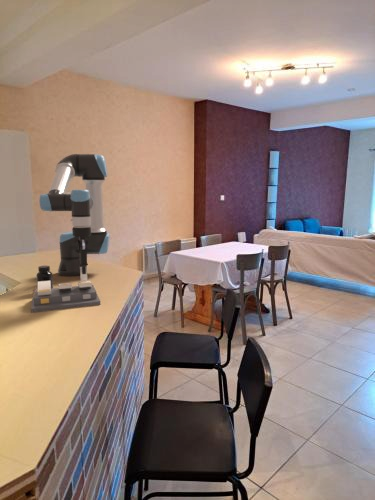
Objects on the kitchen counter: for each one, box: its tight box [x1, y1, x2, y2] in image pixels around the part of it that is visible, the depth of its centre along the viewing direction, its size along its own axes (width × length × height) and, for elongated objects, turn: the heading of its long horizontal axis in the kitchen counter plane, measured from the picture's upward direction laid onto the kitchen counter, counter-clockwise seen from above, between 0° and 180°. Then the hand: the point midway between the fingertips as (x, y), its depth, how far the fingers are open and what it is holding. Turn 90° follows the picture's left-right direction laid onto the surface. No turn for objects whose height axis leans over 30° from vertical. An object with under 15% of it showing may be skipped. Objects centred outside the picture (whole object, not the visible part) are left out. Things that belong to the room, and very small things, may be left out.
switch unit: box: [30, 284, 101, 313], centre depth 145 cm, size 16×26×6 cm, turn 112°
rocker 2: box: [57, 282, 73, 289], centre depth 146 cm, size 9×5×2 cm, turn 22°
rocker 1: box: [37, 281, 51, 296], centre depth 143 cm, size 9×5×2 cm, turn 22°
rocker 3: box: [77, 280, 93, 288], centre depth 149 cm, size 9×5×2 cm, turn 22°
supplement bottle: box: [35, 265, 54, 290], centre depth 159 cm, size 7×7×12 cm
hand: (84, 280), depth 151 cm, fingers closed
